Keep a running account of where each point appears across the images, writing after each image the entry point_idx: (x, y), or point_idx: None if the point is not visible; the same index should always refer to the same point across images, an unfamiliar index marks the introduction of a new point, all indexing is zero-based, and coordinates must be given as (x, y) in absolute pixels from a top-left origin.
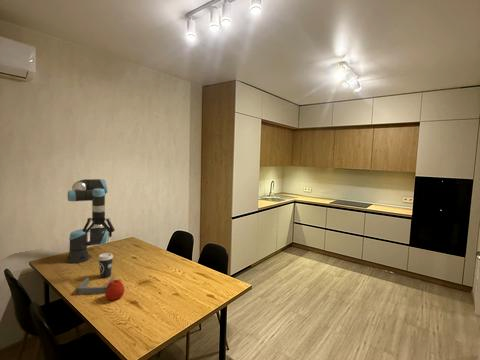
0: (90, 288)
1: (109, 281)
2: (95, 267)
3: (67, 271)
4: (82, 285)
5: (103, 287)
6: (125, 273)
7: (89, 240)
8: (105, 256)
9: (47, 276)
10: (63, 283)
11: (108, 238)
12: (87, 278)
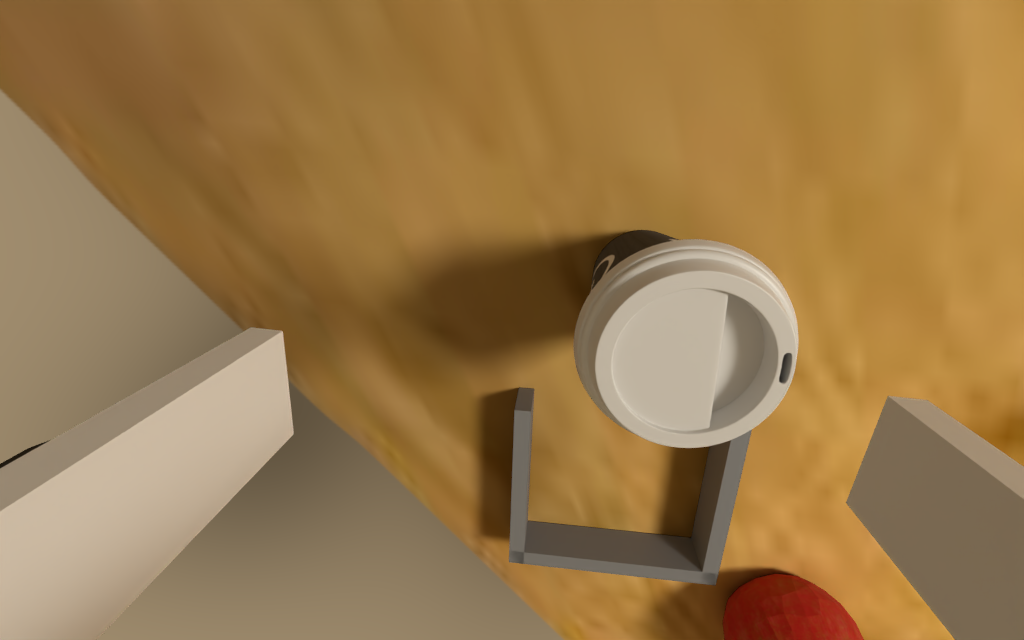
0: (604, 569)
1: (726, 500)
2: (466, 29)
3: (236, 127)
4: (526, 509)
5: (697, 580)
6: (832, 232)
7: (276, 362)
8: (696, 404)
9: (142, 228)
10: (345, 371)
11: (961, 610)
12: (523, 423)
